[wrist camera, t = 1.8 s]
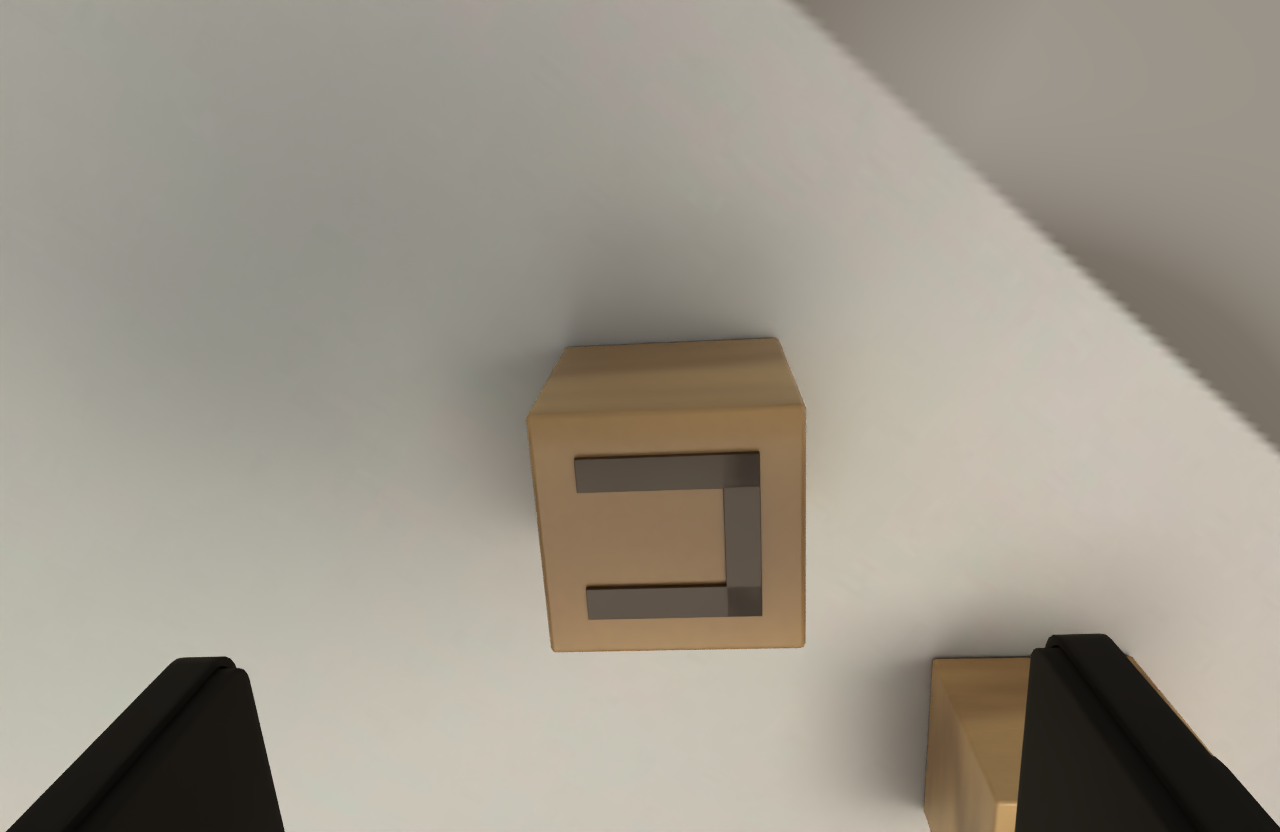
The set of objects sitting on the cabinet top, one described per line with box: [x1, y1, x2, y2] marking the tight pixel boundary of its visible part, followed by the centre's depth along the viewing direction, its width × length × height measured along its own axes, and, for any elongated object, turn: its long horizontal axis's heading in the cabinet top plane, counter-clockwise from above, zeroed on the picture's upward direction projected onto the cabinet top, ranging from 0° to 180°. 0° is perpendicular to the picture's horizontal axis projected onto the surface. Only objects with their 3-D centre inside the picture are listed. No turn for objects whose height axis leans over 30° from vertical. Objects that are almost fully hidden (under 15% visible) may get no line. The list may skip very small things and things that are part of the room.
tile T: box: [924, 656, 1213, 832], centre depth 18 cm, size 4×4×5 cm
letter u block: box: [526, 338, 806, 652], centre depth 16 cm, size 4×4×5 cm
